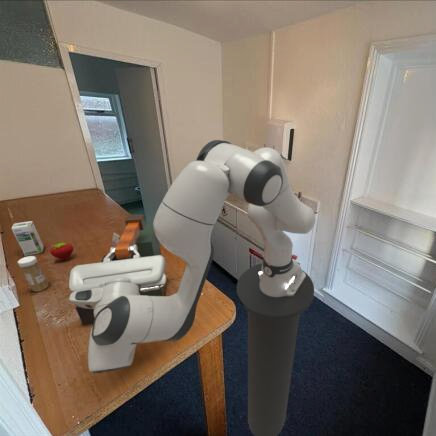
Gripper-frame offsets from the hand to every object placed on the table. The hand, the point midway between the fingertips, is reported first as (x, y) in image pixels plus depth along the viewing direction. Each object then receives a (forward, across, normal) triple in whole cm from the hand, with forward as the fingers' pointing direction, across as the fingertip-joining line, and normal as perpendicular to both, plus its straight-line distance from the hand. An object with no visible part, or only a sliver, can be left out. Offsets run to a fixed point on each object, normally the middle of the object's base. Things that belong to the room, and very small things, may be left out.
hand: (124, 246), depth 64 cm
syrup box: (+36, +54, +58) cm, 87 cm away
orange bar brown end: (+5, 0, +5) cm, 7 cm away
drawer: (+3, +13, +38) cm, 41 cm away
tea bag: (+27, +17, +53) cm, 62 cm away
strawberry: (+27, +38, +52) cm, 70 cm away
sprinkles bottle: (+11, +40, +43) cm, 59 cm away
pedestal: (0, 0, +37) cm, 37 cm away
